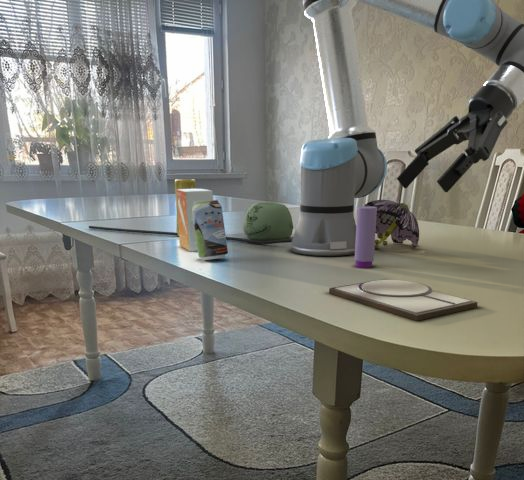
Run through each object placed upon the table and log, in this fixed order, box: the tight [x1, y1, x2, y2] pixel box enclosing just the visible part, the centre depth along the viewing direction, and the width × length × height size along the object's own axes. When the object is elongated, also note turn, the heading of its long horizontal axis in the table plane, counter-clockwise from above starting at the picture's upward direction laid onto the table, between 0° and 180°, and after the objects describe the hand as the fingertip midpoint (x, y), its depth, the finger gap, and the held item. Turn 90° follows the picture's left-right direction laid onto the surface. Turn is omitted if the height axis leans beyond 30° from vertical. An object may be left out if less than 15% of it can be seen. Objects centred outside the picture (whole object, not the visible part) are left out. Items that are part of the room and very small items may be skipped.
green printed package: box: [192, 199, 229, 261], centre depth 110 cm, size 6×7×12 cm
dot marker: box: [354, 205, 377, 269], centre depth 102 cm, size 4×4×11 cm
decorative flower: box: [362, 199, 420, 250], centre depth 123 cm, size 14×12×15 cm
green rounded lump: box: [243, 202, 294, 241], centre depth 139 cm, size 16×13×9 cm
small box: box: [177, 188, 214, 252], centre depth 123 cm, size 8×6×13 cm
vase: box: [174, 178, 197, 237], centre depth 143 cm, size 6×6×14 cm
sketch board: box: [328, 278, 479, 322], centre depth 80 cm, size 18×14×1 cm
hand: (420, 185), depth 102 cm, fingers open, 13 cm apart
